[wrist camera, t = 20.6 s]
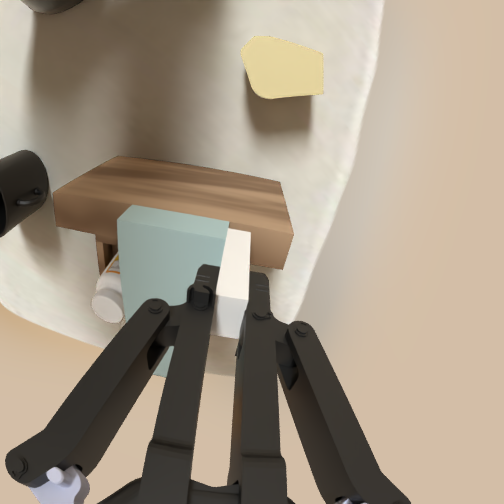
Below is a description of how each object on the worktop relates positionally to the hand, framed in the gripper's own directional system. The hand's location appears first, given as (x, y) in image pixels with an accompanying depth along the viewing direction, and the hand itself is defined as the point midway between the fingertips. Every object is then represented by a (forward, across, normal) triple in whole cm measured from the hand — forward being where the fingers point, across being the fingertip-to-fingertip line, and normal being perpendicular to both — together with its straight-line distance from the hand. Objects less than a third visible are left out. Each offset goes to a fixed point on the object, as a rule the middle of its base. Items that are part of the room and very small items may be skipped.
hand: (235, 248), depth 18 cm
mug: (+14, -30, -3) cm, 33 cm away
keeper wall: (+14, -6, 0) cm, 15 cm away
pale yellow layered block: (+14, +1, +13) cm, 19 cm away
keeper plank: (+1, -4, -7) cm, 8 cm away
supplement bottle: (+13, -12, -12) cm, 22 cm away
